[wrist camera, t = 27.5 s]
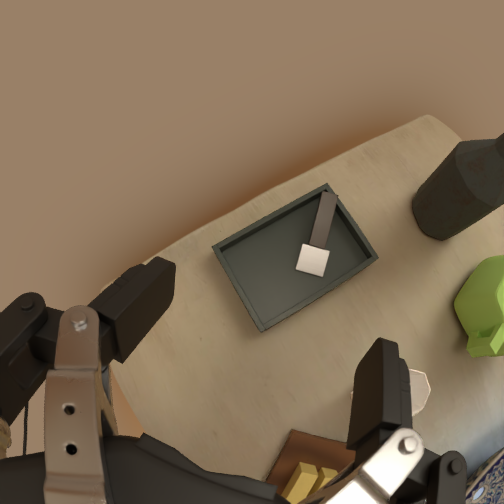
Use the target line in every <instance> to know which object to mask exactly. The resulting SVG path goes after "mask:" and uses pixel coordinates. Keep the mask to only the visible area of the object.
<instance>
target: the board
mask: <svg viewBox="0 0 504 504" xmlns="http://www.w3.org/2000/svg"><path fill="white" fill-rule="evenodd" d="M346 445H347V443H344V442H340V441H335V440H331V439H327V438H323V437H319V436H315V435H311V434H308V433H304V432H300V431H297V430H293V429H292V430H291V432H290V434H289V436H288V438H287V441H286V443H285V445H284V447H283V449H282V451H281V453H280V455H279V457H278V459H277V461H276V463H275V464H274V466H273V468H272V470H271V472H270V474H269V476H268V478H267V480H266V481H265V483H269V484H273V485H276V486H278V488H277V491H276V493H278V494H280V495H281V494H282V493H283V491H284V489H285V487H286V486H287V484H288V482H289V480H290V479H291V477H292V475H293V473H294V471H295V470H296V468H297V466H298V464H299V462H302V463H306V464H310V465H314V466H315V467H316V470H317V473H319V471H320V469H321V467H323V468H328V469H333V470H336V471H337V473H340V472H341V471H342V470H343V469H344V468H345V467H347V466H348V465H349V464H350V463H351V462H352V461H353V460H355V454H356V451H353V450H348V449H346Z"/></svg>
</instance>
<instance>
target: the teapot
mask: <svg viewBox="0 0 504 504" xmlns="http://www.w3.org/2000/svg"><path fill="white" fill-rule="evenodd" d="M454 308H455V311H456V313H457V316H458V318H459V320H460V322H461V324H462V326H463V328H464V330H465V332H466V333H467V335H468V336H469V338H468V343H467V347H466V349H467V351H468V352H469V354H470V355H471V357H472V358H474V357H482V356H490V357H496V356H503V355H504V255H500V256H493V257H490V258H487V259H485V260H483V261H482V262H481V263H480V264H479V265H478V267H477V268H476V269H475V270H474V272H473V273H472V274H471V276H470V277H469V278H468V280H467V281H466V283H465V284H464V286H463V287H462V289H461V290H460V292H459V293H458V295H457V297H456V298H455V301H454Z"/></svg>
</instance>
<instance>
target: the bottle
mask: <svg viewBox="0 0 504 504" xmlns="http://www.w3.org/2000/svg"><path fill="white" fill-rule="evenodd" d="M503 204H504V133H503V134H502V135H500V136H499V137H498V138H497V139H487V140H470V141H462V142H459V143H458V144H457V146H456V147H455V148H454V149H453V150H452V152H451V153H450V154H449V155H448V156H447V157H446V158H445V160H444V161H443V162H442V163H441V164H440V165H439V167H438V168H437V169H436V170H435V171H434V172H433V173H432V174H431V176H430V177H429V178H428V179H427V180H426V181H425V182H424V183H423V184H422V185H421V187H420V188H419V189H418V191H417V193H416V195H415V197H414V199H413V212H414V214H415V217H416V219H417V221H418V224H419V226H420V228H421V229H422V230H423V231H424V232H425V233H426V234H428V235H430V236H433V237H435V238H437V239H440V240H445V239H447V238H450V237H452V236H455V235H456V234H458V233H460V232H461V231H463V230H464V229H466V228H468V227H469V226H471V225H472V224H474V223H476V222H477V221H479V220H480V219H482V218H483V217H485V216H486V215H488V214H489V213H491V212H492V211H494V210H495V209H497V208H498V207H500V206H501V205H503Z"/></svg>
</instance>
